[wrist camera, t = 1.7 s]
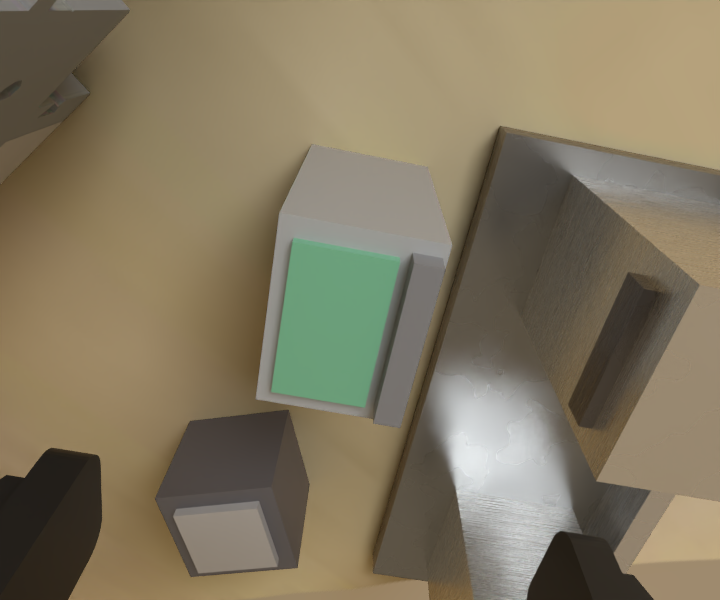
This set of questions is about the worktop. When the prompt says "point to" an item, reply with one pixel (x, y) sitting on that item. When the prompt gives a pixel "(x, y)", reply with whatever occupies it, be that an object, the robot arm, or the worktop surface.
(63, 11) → the circuit breaker
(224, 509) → the block
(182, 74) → the worktop surface
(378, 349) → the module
